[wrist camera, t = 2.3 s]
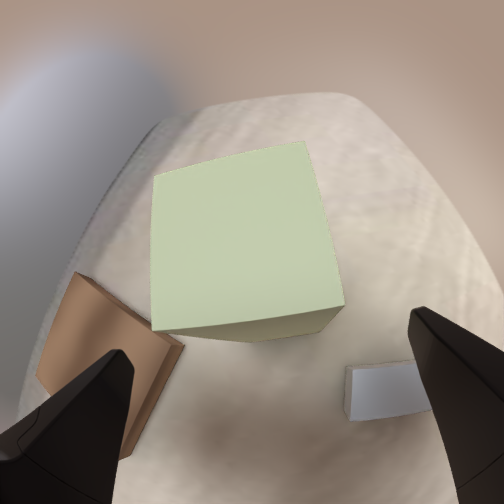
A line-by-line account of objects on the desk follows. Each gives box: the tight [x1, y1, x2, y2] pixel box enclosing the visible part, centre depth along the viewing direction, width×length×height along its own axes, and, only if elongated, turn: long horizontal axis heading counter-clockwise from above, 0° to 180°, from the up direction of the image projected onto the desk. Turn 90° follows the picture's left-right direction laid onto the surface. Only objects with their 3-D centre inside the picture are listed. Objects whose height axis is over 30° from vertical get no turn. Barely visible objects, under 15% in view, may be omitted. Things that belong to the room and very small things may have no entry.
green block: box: [150, 141, 345, 342], centre depth 12 cm, size 4×4×12 cm
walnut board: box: [35, 272, 184, 460], centre depth 18 cm, size 11×11×2 cm
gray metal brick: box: [344, 360, 432, 422], centre depth 13 cm, size 6×3×3 cm, turn 88°
